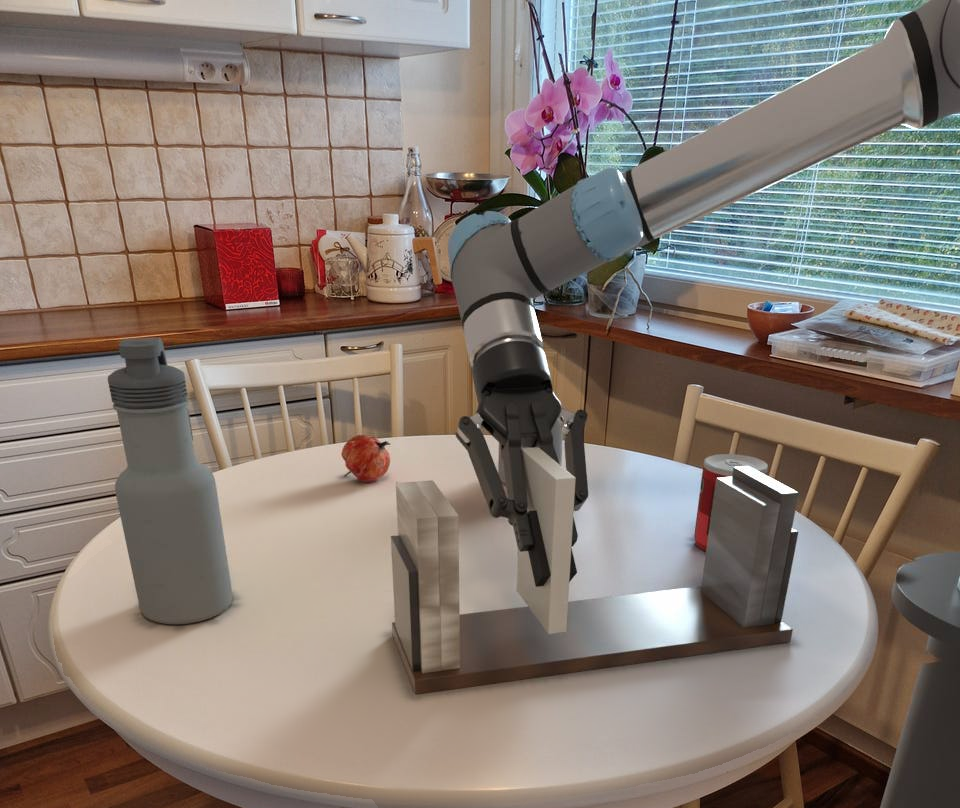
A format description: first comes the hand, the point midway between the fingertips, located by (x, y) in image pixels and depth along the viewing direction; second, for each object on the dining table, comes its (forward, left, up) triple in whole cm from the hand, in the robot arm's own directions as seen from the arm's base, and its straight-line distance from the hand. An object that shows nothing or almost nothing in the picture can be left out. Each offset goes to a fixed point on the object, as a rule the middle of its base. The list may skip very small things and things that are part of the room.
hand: (556, 579), depth 78 cm
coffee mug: (+14, -56, -9) cm, 59 cm away
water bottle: (+41, -2, -9) cm, 42 cm away
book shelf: (-3, -6, -9) cm, 11 cm away
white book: (+2, -3, -5) cm, 6 cm away
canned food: (-16, -36, -9) cm, 41 cm away
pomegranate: (+39, -50, -9) cm, 64 cm away
